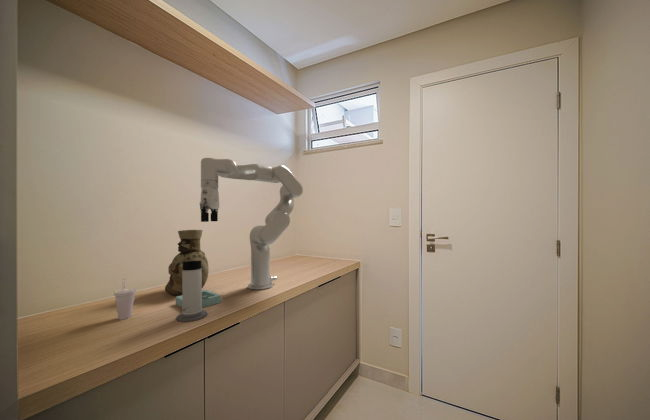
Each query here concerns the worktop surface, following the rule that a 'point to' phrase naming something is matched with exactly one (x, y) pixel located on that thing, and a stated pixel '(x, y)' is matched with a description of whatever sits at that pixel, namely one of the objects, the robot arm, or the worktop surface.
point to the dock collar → (204, 298)
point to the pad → (183, 319)
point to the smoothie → (124, 302)
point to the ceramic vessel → (186, 260)
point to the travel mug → (191, 289)
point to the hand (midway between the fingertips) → (209, 221)
